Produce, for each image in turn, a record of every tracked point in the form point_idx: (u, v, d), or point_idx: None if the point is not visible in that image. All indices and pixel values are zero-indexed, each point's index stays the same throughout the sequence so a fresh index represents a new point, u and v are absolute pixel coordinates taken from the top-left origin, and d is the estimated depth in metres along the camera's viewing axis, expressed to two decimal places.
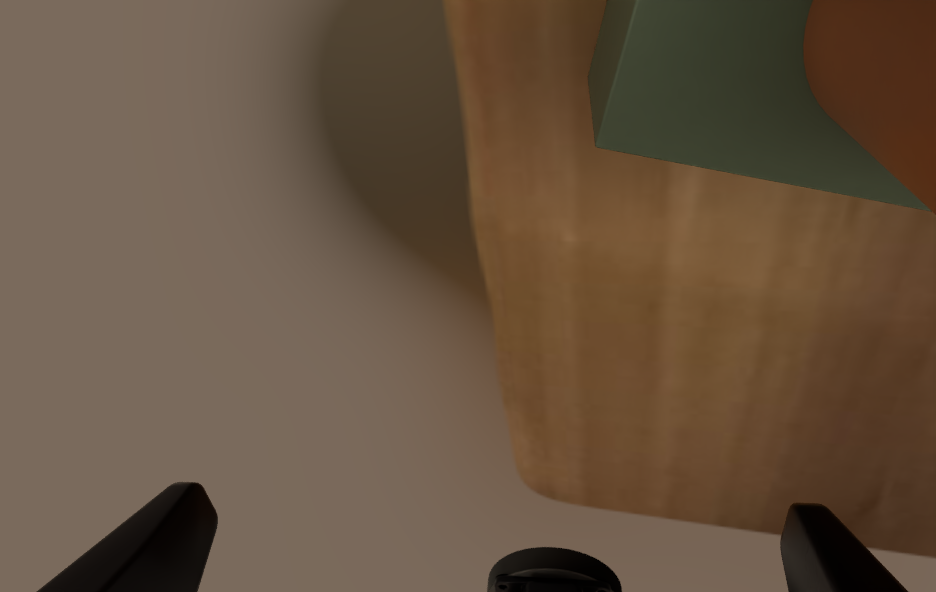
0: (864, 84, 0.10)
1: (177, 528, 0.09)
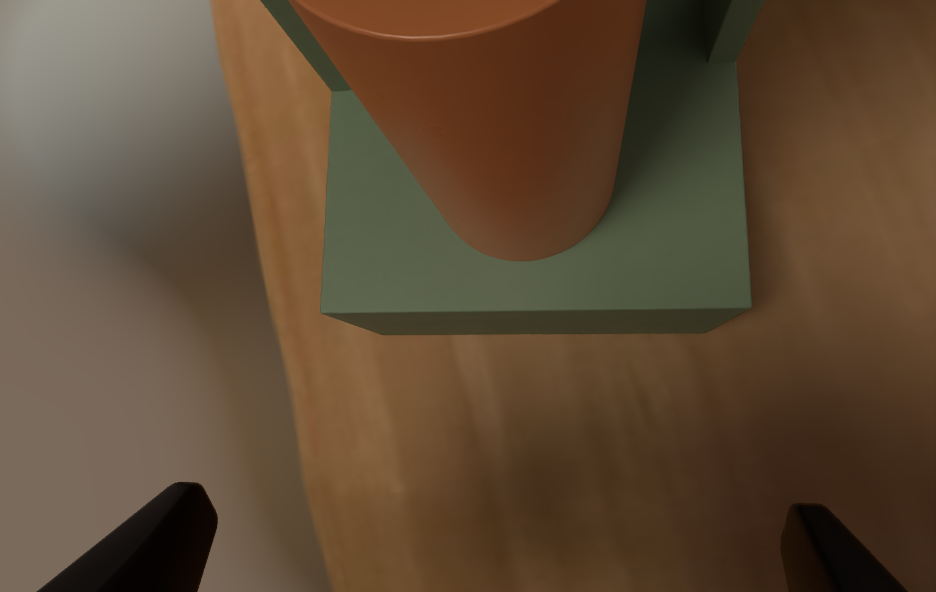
0: None
1: (177, 528, 0.09)
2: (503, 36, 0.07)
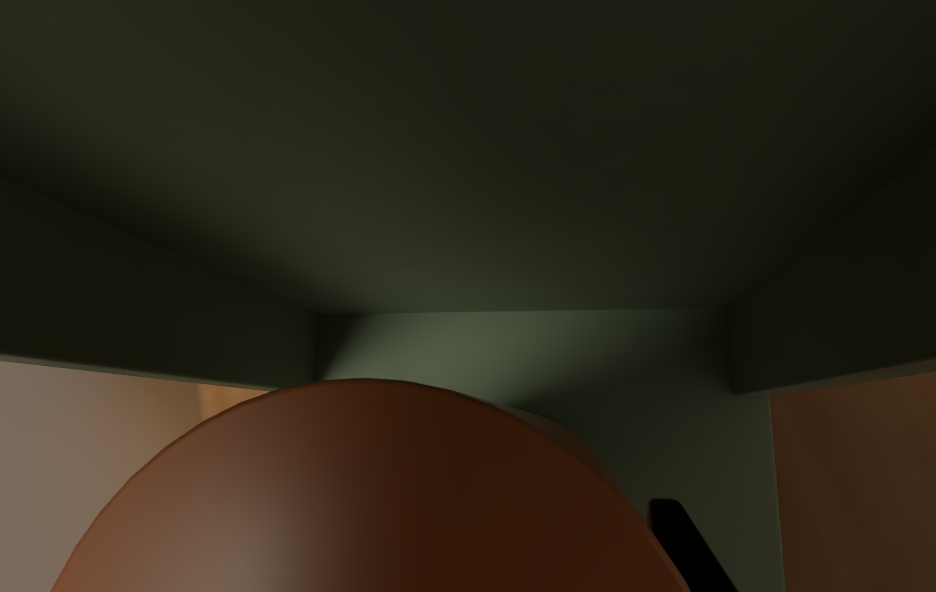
0: None
1: None
2: None
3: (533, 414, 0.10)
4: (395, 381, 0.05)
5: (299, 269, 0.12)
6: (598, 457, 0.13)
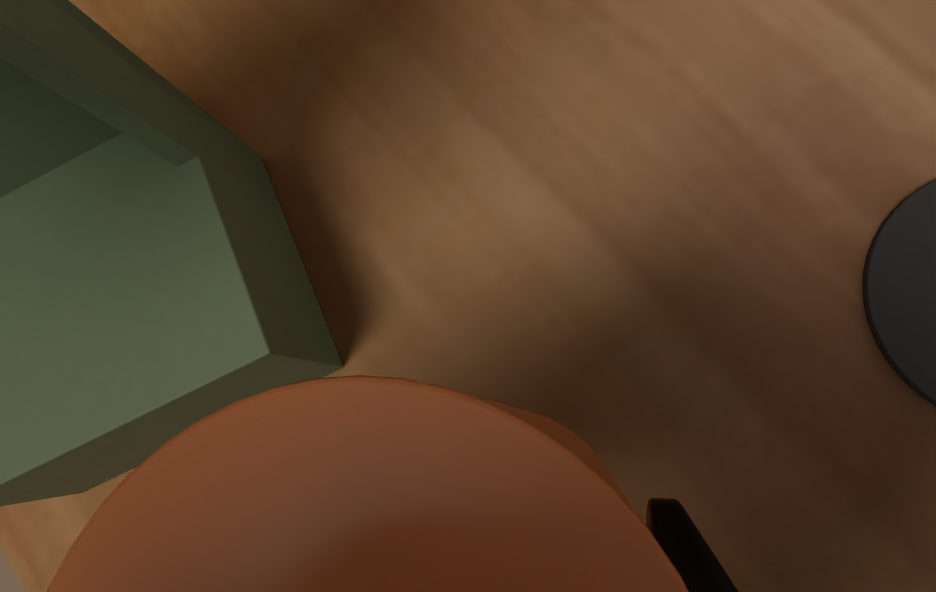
0: None
1: None
2: None
3: None
4: (392, 379, 0.05)
5: None
6: (597, 456, 0.13)
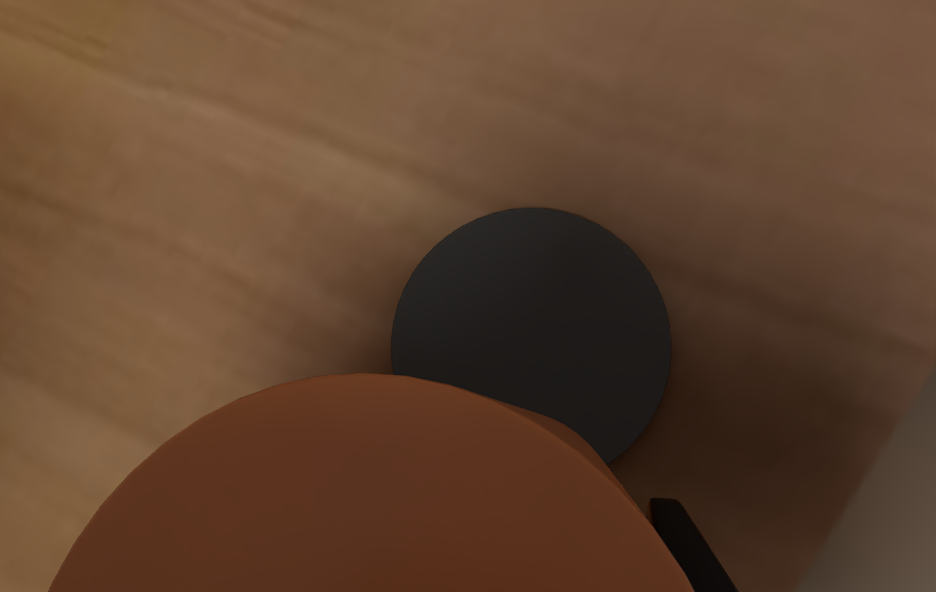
0: None
1: None
2: None
3: None
4: (395, 376, 0.05)
5: None
6: (598, 455, 0.13)
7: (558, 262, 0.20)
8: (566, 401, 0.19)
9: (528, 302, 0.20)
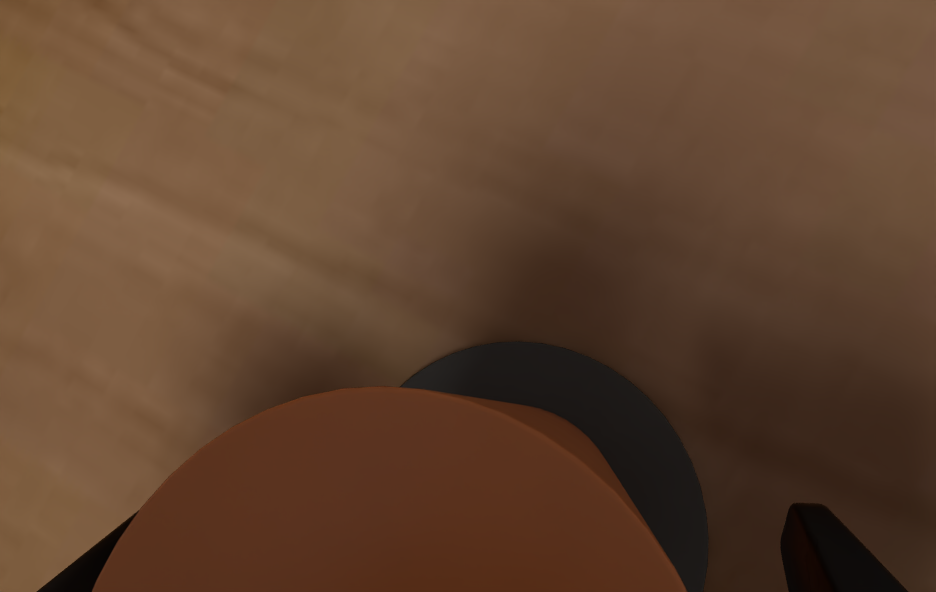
0: None
1: None
2: None
3: (536, 410, 0.11)
4: (412, 389, 0.05)
5: None
6: (598, 450, 0.13)
7: None
8: None
9: None
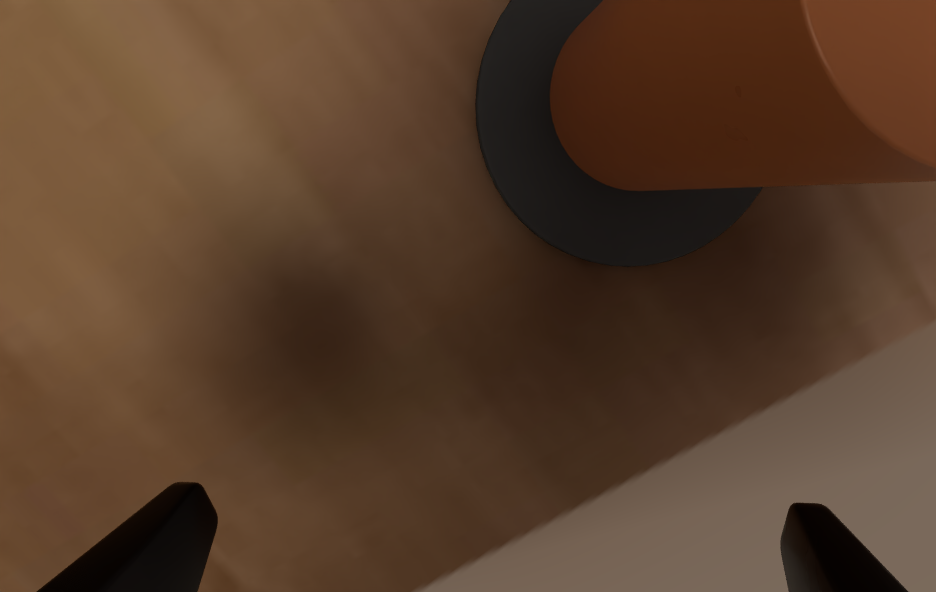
0: (584, 53, 0.14)
1: (177, 528, 0.09)
2: (930, 171, 0.07)
3: None
4: None
5: None
6: None
7: None
8: None
9: None
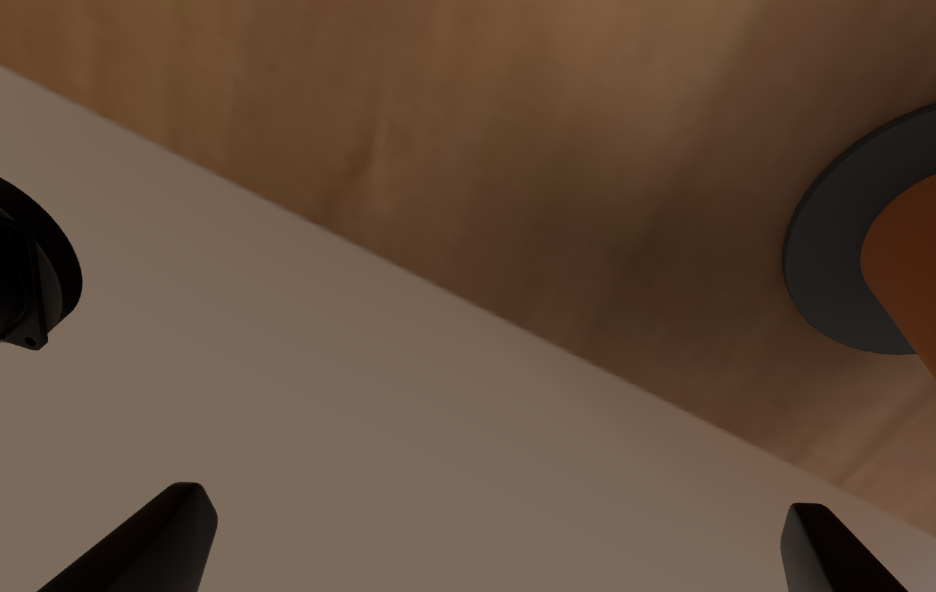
0: None
1: (177, 528, 0.09)
2: None
3: None
4: None
5: None
6: None
7: None
8: None
9: None
